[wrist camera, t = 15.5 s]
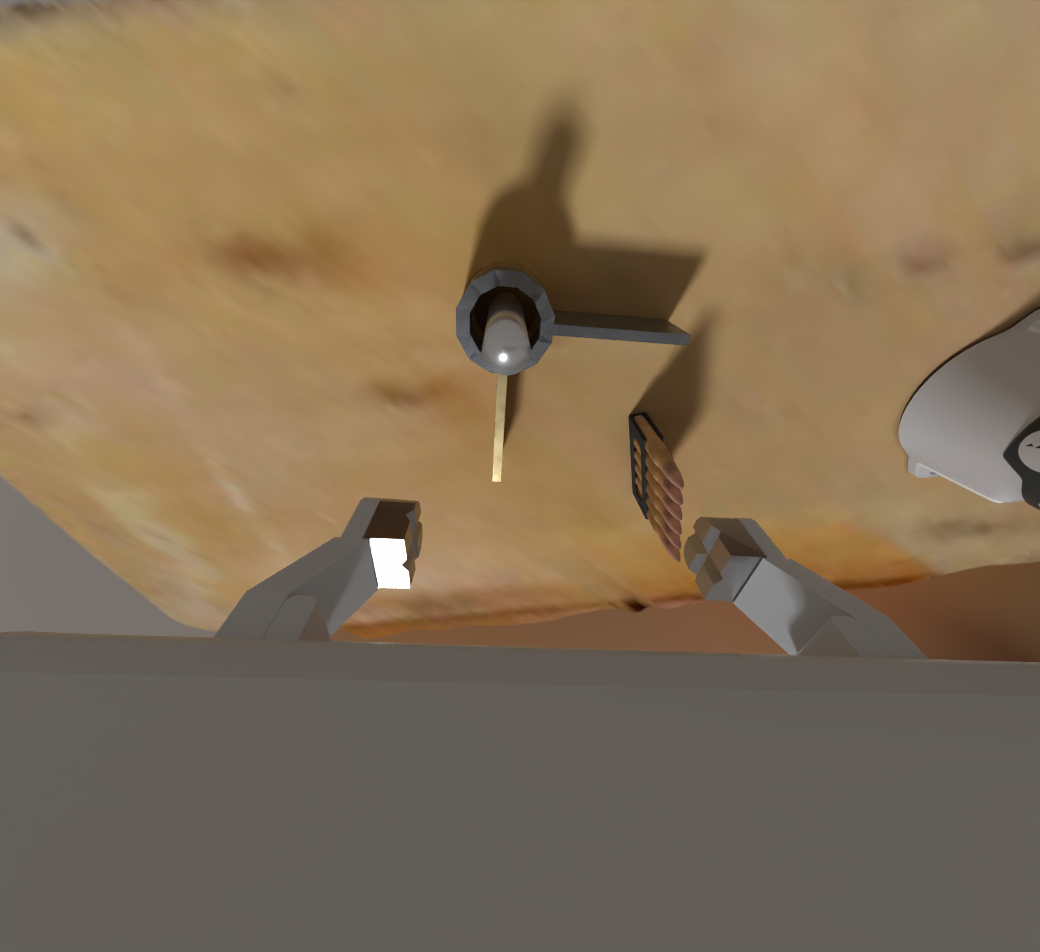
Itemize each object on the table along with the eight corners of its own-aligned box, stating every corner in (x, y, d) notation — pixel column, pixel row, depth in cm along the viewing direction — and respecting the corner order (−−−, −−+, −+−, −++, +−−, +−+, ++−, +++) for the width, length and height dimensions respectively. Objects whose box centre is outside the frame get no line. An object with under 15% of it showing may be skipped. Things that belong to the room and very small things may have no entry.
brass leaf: (551, 267, 31) (560, 275, 26) (530, 454, 41) (533, 483, 37) (462, 259, 30) (455, 266, 26) (463, 451, 41) (458, 479, 36)
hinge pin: (524, 294, 32) (532, 328, 22) (521, 330, 34) (528, 376, 24) (489, 291, 32) (482, 324, 22) (488, 328, 33) (481, 373, 24)
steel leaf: (677, 278, 32) (706, 288, 27) (653, 364, 36) (674, 385, 31) (462, 259, 30) (455, 266, 26) (463, 350, 34) (456, 370, 30)
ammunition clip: (628, 414, 39) (670, 480, 29) (646, 411, 39) (694, 476, 29) (632, 493, 45) (668, 570, 35) (648, 490, 45) (688, 566, 35)
